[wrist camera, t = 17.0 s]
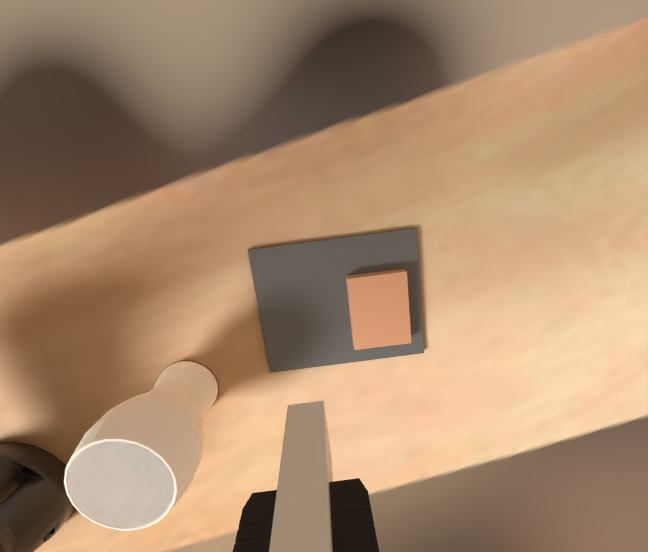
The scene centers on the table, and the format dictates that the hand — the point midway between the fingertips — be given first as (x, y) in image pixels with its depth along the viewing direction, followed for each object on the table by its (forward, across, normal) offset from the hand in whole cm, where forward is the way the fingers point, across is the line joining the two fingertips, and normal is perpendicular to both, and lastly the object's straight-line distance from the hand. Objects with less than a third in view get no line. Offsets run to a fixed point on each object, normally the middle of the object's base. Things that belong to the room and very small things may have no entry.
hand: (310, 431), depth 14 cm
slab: (+25, +4, -4) cm, 26 cm away
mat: (+26, +3, -3) cm, 27 cm away
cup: (+27, -18, -12) cm, 34 cm away
